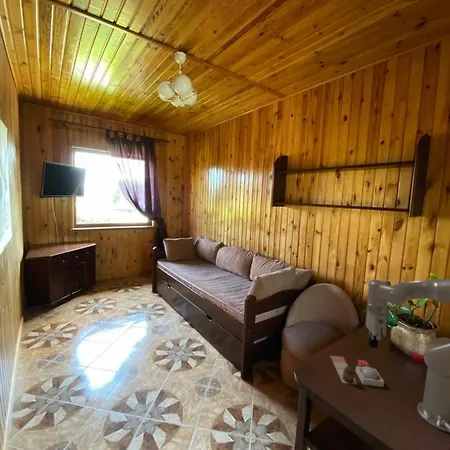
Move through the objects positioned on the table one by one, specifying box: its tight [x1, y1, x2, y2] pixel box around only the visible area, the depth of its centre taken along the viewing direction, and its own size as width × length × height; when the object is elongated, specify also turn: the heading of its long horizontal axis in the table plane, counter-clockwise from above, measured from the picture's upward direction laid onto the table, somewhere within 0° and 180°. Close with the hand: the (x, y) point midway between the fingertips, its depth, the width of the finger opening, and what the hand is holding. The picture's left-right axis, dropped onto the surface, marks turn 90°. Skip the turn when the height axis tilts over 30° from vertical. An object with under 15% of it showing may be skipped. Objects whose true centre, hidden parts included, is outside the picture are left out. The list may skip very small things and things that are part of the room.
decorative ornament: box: [411, 353, 426, 365], centre depth 133 cm, size 10×10×3 cm
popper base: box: [355, 359, 385, 388], centre depth 118 cm, size 15×9×4 cm, turn 172°
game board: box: [330, 355, 359, 386], centre depth 122 cm, size 20×7×1 cm, turn 172°
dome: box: [362, 366, 378, 380], centre depth 115 cm, size 6×6×4 cm
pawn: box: [342, 365, 355, 384], centre depth 114 cm, size 4×4×7 cm
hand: (373, 346), depth 113 cm, fingers closed
